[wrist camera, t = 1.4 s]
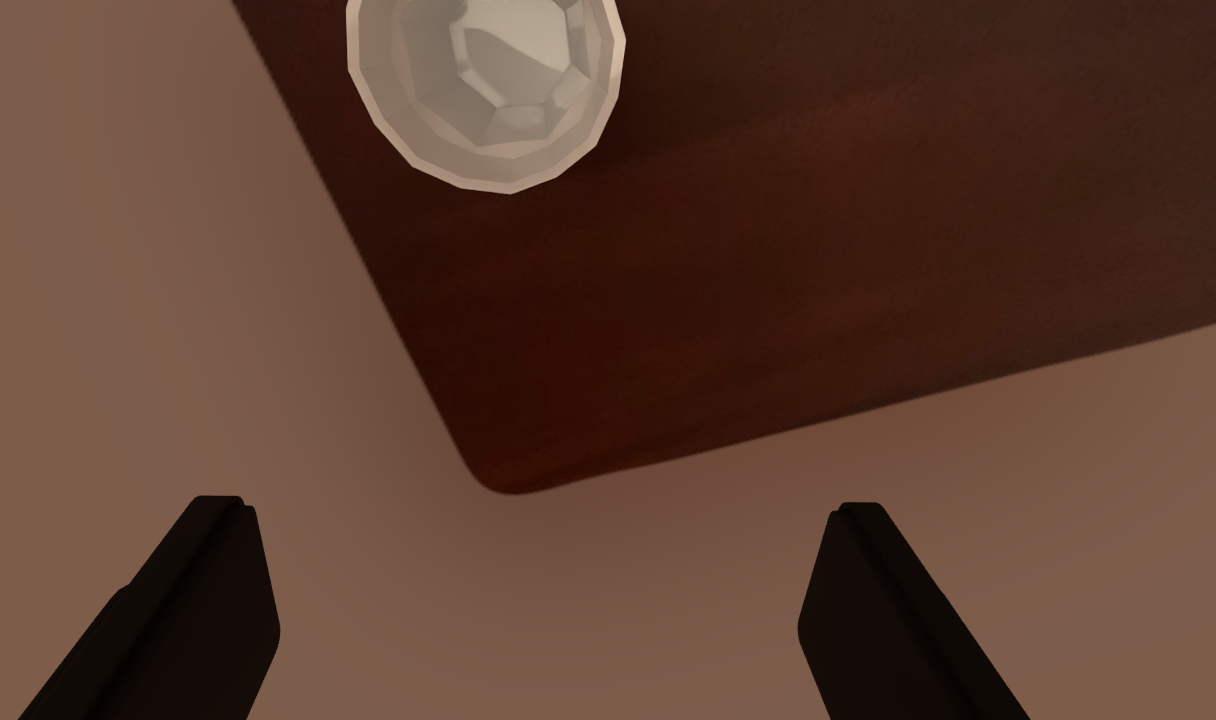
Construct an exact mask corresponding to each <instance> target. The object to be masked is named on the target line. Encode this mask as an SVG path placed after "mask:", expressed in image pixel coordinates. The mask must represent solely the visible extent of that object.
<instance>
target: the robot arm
mask: <svg viewBox="0 0 1216 720" xmlns="http://www.w3.org/2000/svg"><path fill="white" fill-rule="evenodd" d="M798 637H799V641H800V644H801V647H802V650H803V652H804V655H805V657H806V659H807V662H808V664H809V667H810V669H811V672H812V674H813V677H814V679H815V682H816V684H817V687H818V689H819V692H820V694H821V697H822V699H823V702H824V704H825V707H826V709H827V712H828V714H829V716H830V719H831V720H1030V718H1029V717H1028V715H1027V714H1026V713H1025V711H1024V710H1023V708H1022V707H1021V705H1020V704H1019V702H1018V701H1017V699H1016V698H1015V696H1014V695H1013V694H1012V692H1011V691H1010V689H1009V688H1008V686H1007V685H1006V683H1005V682H1004V681H1003V679H1002V678H1001V676H1000V675H999V673H998V672H997V670H996V669H995V668H994V666H993V665H992V663H991V662H990V660H989V659H988V657H987V656H986V655H985V653H984V652H983V650H982V649H981V647H980V646H979V645H978V643H977V641H976V640H975V639H974V637H973V636H972V634H971V633H970V631H969V630H968V628H967V627H966V625H965V624H964V623H963V621H962V620H961V618H960V617H959V615H958V614H957V612H956V611H955V609H954V608H953V607H952V605H951V604H950V602H949V601H948V599H947V598H946V597H945V595H944V594H943V593H942V592H941V590H940V589H939V588H938V586H937V585H936V583H935V582H934V581H933V579H932V578H931V576H930V575H929V573H928V572H927V571H926V569H925V567H924V566H923V564H922V563H921V561H920V560H919V559H918V557H917V556H916V554H915V553H914V551H913V550H912V548H911V547H910V545H909V544H908V543H907V541H906V540H905V538H904V537H903V535H902V534H901V532H900V531H899V530H898V528H897V527H896V525H895V524H894V522H893V521H892V520H891V518H890V517H889V515H888V514H887V512H886V511H885V509H884V508H883V507H882V506H881V505H880V504H878V503H875V502H873V503H872V502H868V503H867V502H845V503H842V505H841V506H840V507H839V509H838V511H832V512H831V513H830V515H829V518H828V521H827V525H826V528H825V532H824V535H823V538H822V542H821V545H820V549H819V552H818V555H817V559H816V562H815V565H814V569H813V572H812V576H811V579H810V582H809V586H808V589H807V593H806V596H805V599H804V603H803V606H802V610H801V613H800V617H799V621H798ZM279 639H280V623H279V618H278V614H277V609H276V604H275V600H274V595H273V591H272V586H271V581H270V576H269V572H268V567H267V562H266V558H265V553H264V549H263V543H262V539H261V534H260V529H259V525H258V520H257V516H256V512H255V509H254V507H253V506H247V505H244V502H243V500H242V498H241V497H239V496H198V497H195V498H194V499H193V501H192V502H191V503H190V504H189V505H188V507H187V508H186V509H185V511H184V512H183V513H182V515H181V516H180V517H179V519H178V520H177V521H176V523H175V524H174V525H173V527H172V528H171V529H170V530H169V532H168V533H167V535H166V536H165V537H164V538H163V540H162V541H161V542H160V544H159V545H158V546H157V548H156V549H155V550H154V552H153V553H152V554H151V556H150V557H149V558H148V560H147V561H146V562H145V564H144V565H143V566H142V568H141V569H140V570H139V572H138V573H137V574H136V576H135V577H134V578H133V580H132V581H131V583H130V584H129V585H126V586H125V587H123V588H121V589H119V590H118V591H117V593H115V594H114V595H113V597H112V598H111V599H110V600H109V601H108V603H107V604H106V605H105V607H104V608H103V609H102V610H101V612H100V613H99V615H98V616H97V617H96V618H95V619H94V621H93V622H92V623H91V625H90V626H89V627H88V629H87V630H86V631H85V633H84V634H83V635H82V636H81V638H80V639H79V640H78V642H77V643H76V644H75V646H74V647H73V648H72V649H71V651H70V652H69V654H68V655H67V656H66V658H65V659H64V660H63V661H62V663H61V664H60V665H59V666H58V668H57V669H56V670H55V672H54V673H53V674H52V676H51V677H50V678H49V680H48V681H47V682H46V684H45V685H44V686H43V687H42V689H41V690H40V691H39V693H38V694H37V695H36V696H35V698H34V699H33V700H32V702H31V703H30V704H29V706H28V707H27V708H26V710H25V711H24V712H23V713H22V715H21V716H20V717H19V719H18V720H246V719H247V717H248V715H249V712H250V710H251V707H252V705H253V703H254V701H255V699H256V696H257V694H258V692H259V689H260V687H261V685H262V683H263V680H264V678H265V676H266V674H267V671H268V669H269V667H270V664H271V662H272V660H273V658H274V655H275V653H276V650H277V647H278V644H279Z"/></svg>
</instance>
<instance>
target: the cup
mask: <svg viewBox="0 0 1216 720" xmlns="http://www.w3.org/2000/svg"><path fill="white" fill-rule="evenodd" d="M346 23H347V53H348V71H349V73H350V75H351V77H352V79H353V81H354V83H355V85H356V87H357V89H358V91H359V93H360V95H361V98H362V100H363V102H364V104H365V106H366V108H367V110H368V112H369V114H370V116H371V118H372V120H373V122H374V124H375V125H376V126H377V127H378V129H379V130H380V131H381V132H382V133H383V134H384V135H385V136H386V138H387V139H388V140H389V141H390V142H391V143H392V144H393V145H394V147H395V148H396V149H397V150H398V151H399V152H400V153H401V154H402V156H403V157H404V158H405V159H406V160H407V161H408V162H409V163H410V165H411V166H412V167H414V168H417V169H419V170H421V171H423V172H426V173H428V174H430V175H432V176H435V177H437V178H439V179H441V180H444V181H446V182H448V183H450V184H453V185H455V186H457V187H459V188H464V189H472V190H480V191H488V192H496V193H504V194H513V193H516V192H518V191H521V190H524V189H526V188H529V187H532V186H534V185H537V184H540V183H543V182H545V181H548V180H551V179H553V178H556V177H558V176H559V175H560V174H561V173H563V172H564V171H565V170H566V169H568V168H569V167H570V166H571V165H573V164H574V163H575V162H576V161H578V160H579V159H580V158H581V157H583V156H584V155H585V154H586V153H588V152H589V151H590V150H591V149H593V148H594V147H595V146H596V145H597V142H598V140H599V138H600V136H601V134H602V131H603V129H604V127H605V125H606V123H607V120H608V118H609V116H610V114H611V112H612V109H613V107H614V105H615V103H616V101H617V99H618V94H619V87H620V80H621V73H622V66H623V58H624V51H625V44H626V38H625V35H624V31H623V28H622V25H621V21H620V18H619V15H618V11H617V8H616V5H615V1H614V0H348V4H347V8H346Z"/></svg>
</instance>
